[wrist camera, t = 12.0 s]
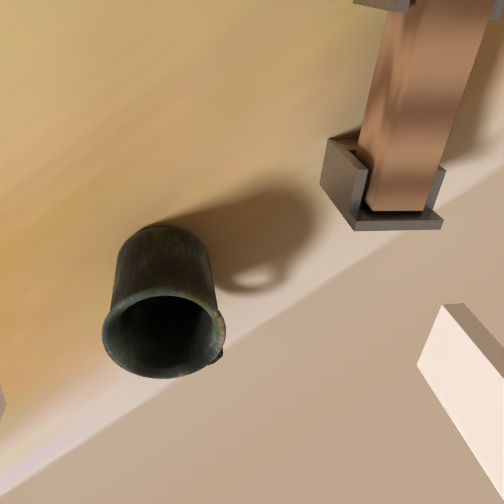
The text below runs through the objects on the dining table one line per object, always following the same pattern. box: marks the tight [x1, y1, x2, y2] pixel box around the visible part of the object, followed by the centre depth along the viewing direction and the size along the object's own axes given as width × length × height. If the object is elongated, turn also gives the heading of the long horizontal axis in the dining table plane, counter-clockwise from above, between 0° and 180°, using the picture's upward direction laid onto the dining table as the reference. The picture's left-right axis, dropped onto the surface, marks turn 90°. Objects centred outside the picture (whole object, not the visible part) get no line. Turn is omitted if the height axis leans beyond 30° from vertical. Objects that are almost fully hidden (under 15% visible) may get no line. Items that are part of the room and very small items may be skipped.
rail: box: [355, 0, 495, 211], centre depth 37 cm, size 18×5×6 cm, turn 175°
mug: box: [102, 227, 226, 379], centre depth 44 cm, size 11×15×12 cm
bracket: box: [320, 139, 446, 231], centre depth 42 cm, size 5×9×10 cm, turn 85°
